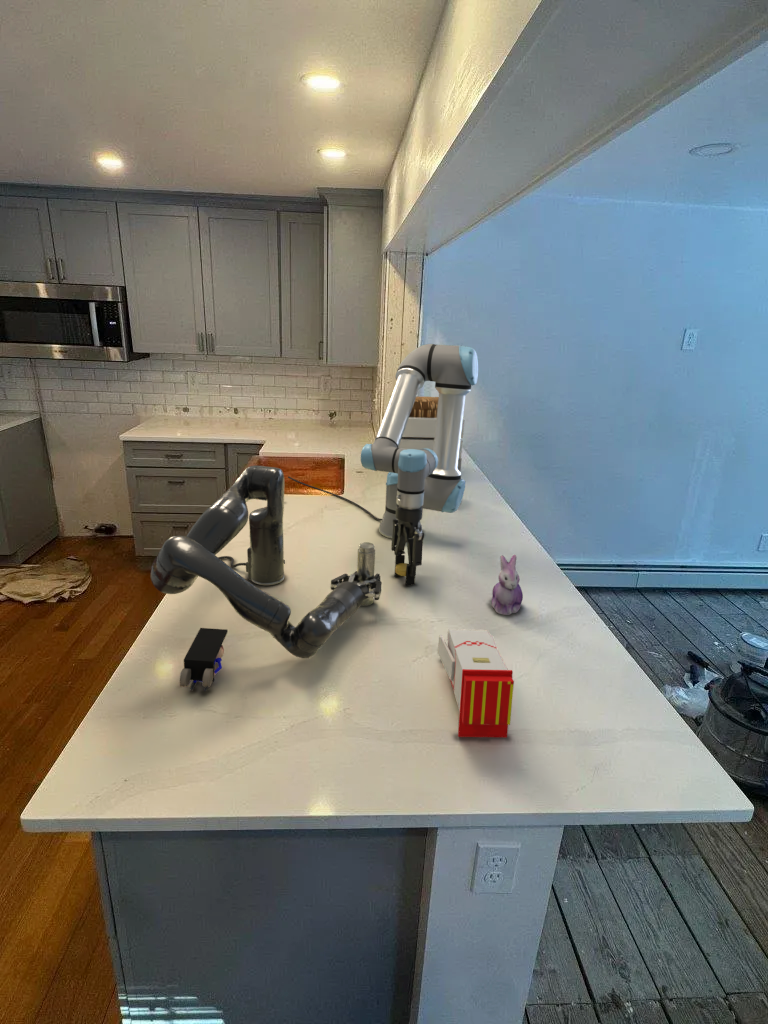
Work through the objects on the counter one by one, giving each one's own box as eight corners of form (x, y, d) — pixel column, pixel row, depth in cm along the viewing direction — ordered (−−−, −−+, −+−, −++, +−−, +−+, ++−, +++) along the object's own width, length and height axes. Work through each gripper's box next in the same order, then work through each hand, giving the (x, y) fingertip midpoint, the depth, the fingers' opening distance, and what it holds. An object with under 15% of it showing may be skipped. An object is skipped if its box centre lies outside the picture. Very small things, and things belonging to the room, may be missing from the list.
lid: (409, 578, 161) (409, 573, 161) (391, 573, 164) (391, 568, 163) (417, 571, 166) (418, 566, 165) (400, 566, 169) (401, 561, 168)
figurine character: (214, 702, 114) (231, 653, 127) (210, 673, 110) (228, 625, 124) (180, 702, 114) (200, 652, 127) (175, 673, 110) (197, 625, 124)
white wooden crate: (382, 463, 289) (386, 382, 275) (445, 464, 293) (451, 384, 279) (390, 482, 257) (394, 392, 243) (460, 483, 261) (468, 394, 247)
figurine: (504, 619, 147) (511, 567, 142) (480, 601, 155) (486, 551, 150) (532, 612, 151) (540, 561, 146) (508, 595, 159) (514, 546, 154)
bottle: (354, 604, 151) (356, 547, 146) (358, 596, 155) (359, 540, 150) (371, 606, 151) (373, 549, 145) (374, 598, 155) (376, 542, 149)
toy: (488, 613, 130) (523, 677, 101) (484, 667, 133) (517, 744, 104) (435, 612, 130) (455, 676, 101) (432, 666, 133) (451, 743, 103)
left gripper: (316, 609, 142) (345, 581, 157) (368, 622, 137) (393, 592, 152) (316, 582, 139) (346, 557, 154) (369, 595, 134) (395, 567, 149)
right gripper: (381, 497, 164) (378, 569, 172) (415, 517, 149) (409, 596, 156) (404, 494, 168) (399, 565, 175) (439, 514, 152) (432, 591, 160)
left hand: (369, 575), depth 153 cm, fingers closed on bottle, 4 cm apart
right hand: (404, 580), depth 166 cm, fingers closed on lid, 6 cm apart
